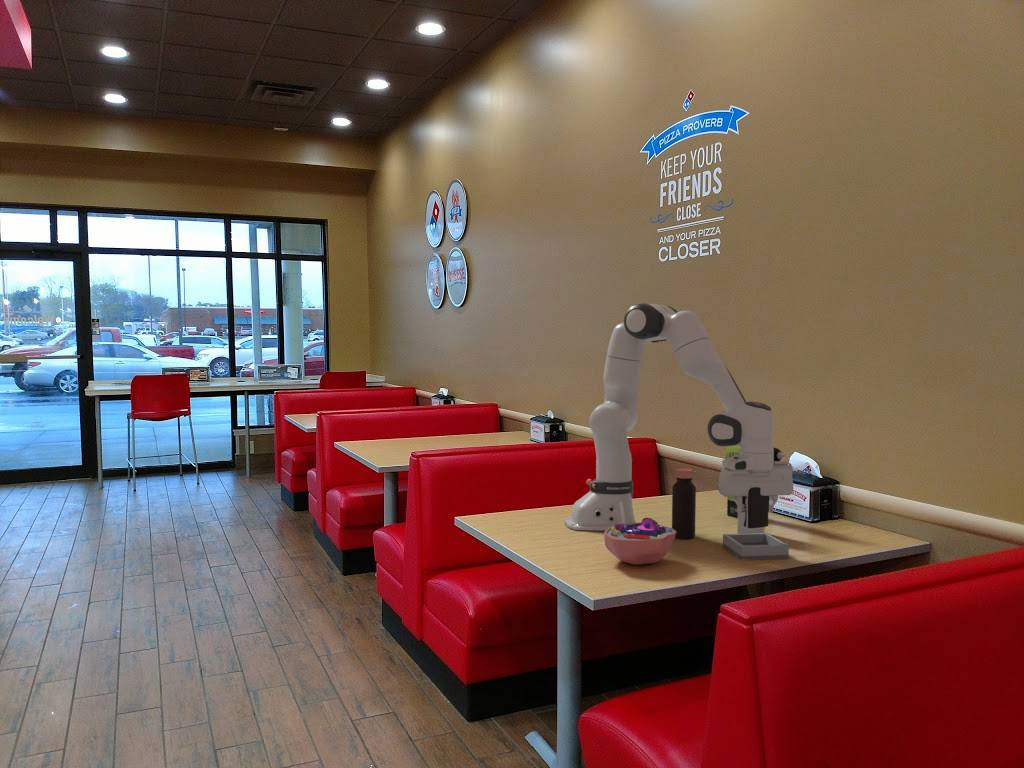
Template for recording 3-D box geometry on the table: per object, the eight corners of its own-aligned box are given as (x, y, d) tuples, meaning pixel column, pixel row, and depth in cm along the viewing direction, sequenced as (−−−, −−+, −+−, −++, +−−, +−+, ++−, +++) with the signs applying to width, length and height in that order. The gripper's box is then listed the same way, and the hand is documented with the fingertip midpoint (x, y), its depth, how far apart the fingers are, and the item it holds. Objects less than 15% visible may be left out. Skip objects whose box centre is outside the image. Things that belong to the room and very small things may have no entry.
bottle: (682, 540, 218) (683, 472, 217) (666, 535, 224) (667, 469, 223) (700, 537, 221) (701, 470, 220) (684, 532, 227) (685, 467, 226)
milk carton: (764, 533, 227) (766, 470, 226) (762, 538, 220) (763, 474, 219) (740, 530, 230) (741, 469, 229) (737, 536, 223) (738, 472, 222)
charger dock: (741, 560, 199) (742, 545, 199) (722, 546, 212) (722, 533, 212) (788, 558, 201) (789, 544, 200) (767, 545, 214) (767, 531, 213)
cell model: (589, 559, 200) (589, 517, 200) (648, 548, 210) (648, 508, 209) (629, 576, 186) (629, 531, 185) (690, 564, 195) (690, 521, 195)
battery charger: (760, 523, 209) (761, 483, 208) (769, 527, 206) (770, 485, 205) (739, 526, 207) (740, 485, 206) (748, 529, 203) (749, 487, 202)
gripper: (787, 459, 209) (786, 508, 210) (716, 460, 207) (715, 509, 208) (798, 462, 203) (797, 513, 204) (725, 464, 201) (724, 515, 202)
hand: (755, 511), depth 206 cm, fingers closed on battery charger, 7 cm apart
